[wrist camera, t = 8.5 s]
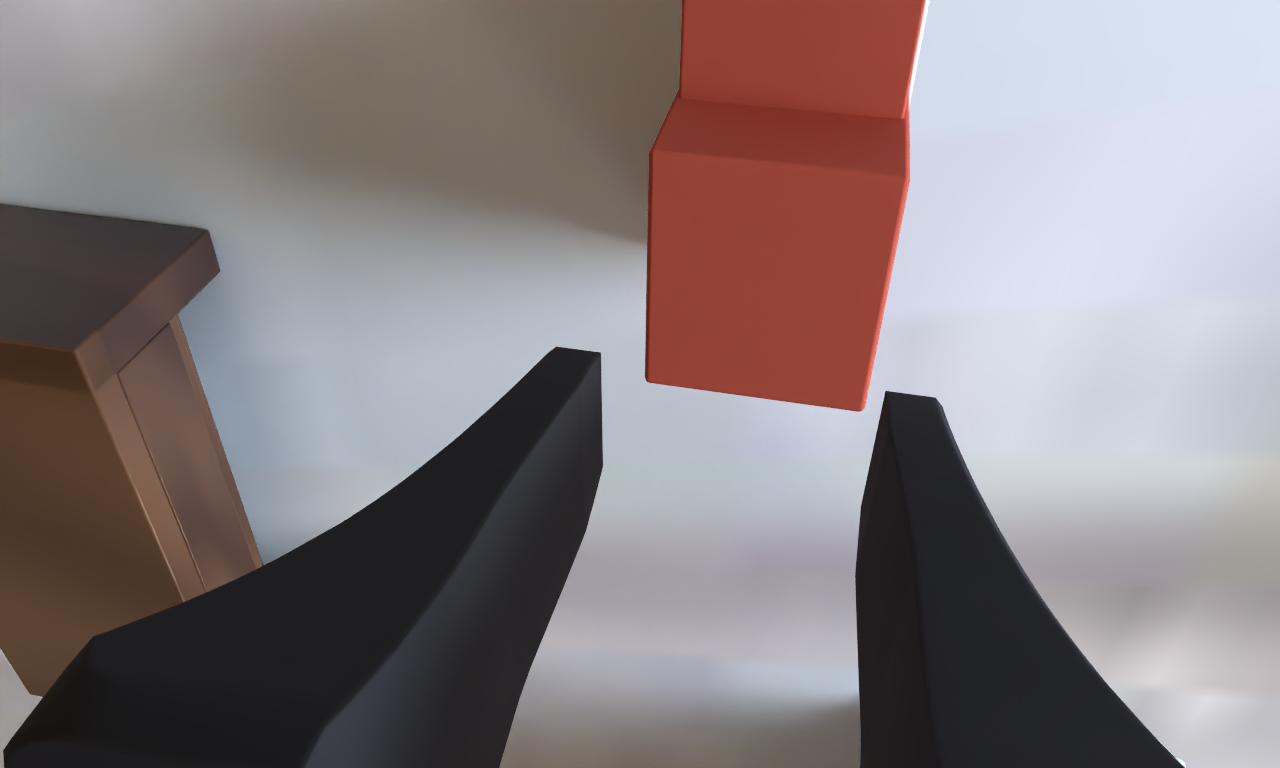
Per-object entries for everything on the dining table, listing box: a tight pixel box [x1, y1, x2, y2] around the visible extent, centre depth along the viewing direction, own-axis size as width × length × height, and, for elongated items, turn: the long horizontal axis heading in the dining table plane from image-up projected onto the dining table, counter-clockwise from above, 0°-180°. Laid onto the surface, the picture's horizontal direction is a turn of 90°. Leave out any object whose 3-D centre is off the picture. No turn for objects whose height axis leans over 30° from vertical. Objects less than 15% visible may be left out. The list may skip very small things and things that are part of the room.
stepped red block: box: [645, 0, 929, 412], centre depth 17 cm, size 7×4×5 cm, turn 179°
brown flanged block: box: [0, 205, 263, 697], centre depth 27 cm, size 14×7×5 cm, turn 179°
